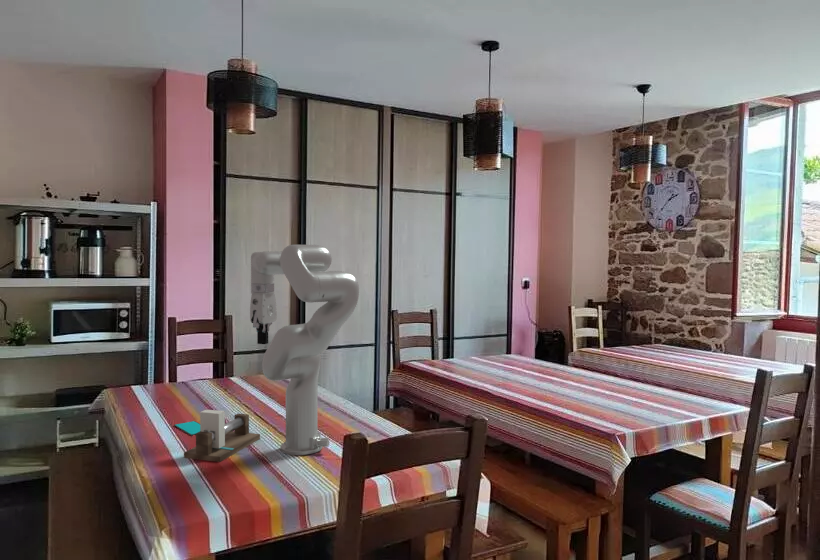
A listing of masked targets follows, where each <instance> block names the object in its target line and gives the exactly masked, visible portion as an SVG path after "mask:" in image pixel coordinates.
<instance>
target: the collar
mask: <svg viewBox="0 0 820 560" xmlns="http://www.w3.org/2000/svg"><path fill="white" fill-rule="evenodd" d="M199 413H200V414H199V415H200V417H199V418H200V421H199V424H200V431H201V432H209V431H215V440H214V441H212V448H221V447H223V446H224V445H225V424H226V422H225V421H226V417H225V416H226V414H225V410H216V409H215V410H213V409H204V410H202V411H200V412H199Z"/></svg>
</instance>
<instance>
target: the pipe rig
mask: <svg viewBox="0 0 820 560" xmlns="http://www.w3.org/2000/svg"><path fill="white" fill-rule="evenodd" d="M260 439H261V433H253V432H250V414H245V413H236V414H234V418H233V419H232V420H230V421H228V422H225V445H224V446H223V447H221V448H212V441H214V440H215V431H209V432H201V431H200V432H198V433H196V435H195V446H193V447H192V448H191V449H188V450H186V451H185V452H183V458H184V459H191V460H192V459H193V460H198V461H199V460H201V461H210V462H217V463H221V462H223V461H225V460H227V459H228V458H229V457H231V456H233V455H235V454H237V453H238V452H240V451H242V450H243V449H245V448H247V447H248V446H250V445H252V444H254V443H256V442H257V441H259V440H260Z"/></svg>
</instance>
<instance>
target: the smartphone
mask: <svg viewBox="0 0 820 560" xmlns="http://www.w3.org/2000/svg"><path fill="white" fill-rule="evenodd" d="M174 426H176V427H177V428H176V427H175V428H176V429H178V428H179V429H178V430H180V429H181V430H182V431H181V430H180V431H181V432H183V431H184V432H183V433H185V434H186V433H187V435H188V434H189V436H190V435H191V436H190V437H194V436H193V435H195V436H196V433H198V432H200V422H197V421H195V420H192V421H186V422H182V423H176V424H174V425H173V427H174Z"/></svg>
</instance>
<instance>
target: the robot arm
mask: <svg viewBox="0 0 820 560" xmlns="http://www.w3.org/2000/svg"><path fill="white" fill-rule="evenodd" d="M332 257H333V256H332V254H331V252H330V251H329V250H328V248H326V247H324V246H322V245H318V244H290V245H287V246H286V247H284V248H283V250H281V251H279V250H274V251H273V250H271V251H269V250H265V251H254V252H252V253H251V255H250V294H251V296H250V302H249V303H250V307H249V320H250V323H251V324H252V328H254V329H255V331H256V332H257V334H256V335H257V337H256V338H257V343H256V344H257V345H268V344H269V331H270V326H271V325H273V323H274V322H276V321H277V317H278V316H277V301H276V294H275V275H284V276H285V278H286V279H287V281H288V282H289V284H290V286H291V288H292V290H293V291H294V293H295V295H296V296H297V298H298V299H299V300H301V301H302V302H305V303H324V304H323V305H321V306H320V307H319V308H318V309H316V310H315V311H314V313H313V314H312V316H311V318H310V319H309V320H308V322H304V323H299V324H298V323H297V324H288V325H285V326H282V327H280V328H279V329H278V330H277V332H276V333H275V334H274V335H273V338H272V340H271V342H270V344H269V345H268V347H267V349H266V350H265V352H264V355H263V357H262V362H261V369H262V373H263V375H264V376H265V377H266V378H267V379H268V380H270V381H276V382H277V381H283V380H289V382H288V384H287V387H286V390H285V441H284V442H283V443H281V444H280V451H281V452H282V453H283V454H285V455H290V456H291V455H292V456H306V455H312V454H315V453H318V452H320V451H321V450H322V449H323V448H324V447H326V448H327V447H330V439H329V437H322V435H321V432H318V385H319V374H320V369H321V364H322V356H321V354H323V353H324V352H326V350H327V349H328V348H329V346H330V345H331V343H332V342H333V340H334V338H335V337H336V335H337V334H338V332H339V330H340V329H341V328H342V327H343V325H344V324H345V323H346V322H347V321H348V319H349V318H350V317H351V315H352V314H353V312H354V311H355V309H356V308H357V305H358V301H359V296H360V287H359V282H358V280H357V277H355V275H353V274H351V273H349V272H346V271H342V270H328V269H329V268H330V267H331V264H332V262H333V261H332V260H333V258H332Z"/></svg>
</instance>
